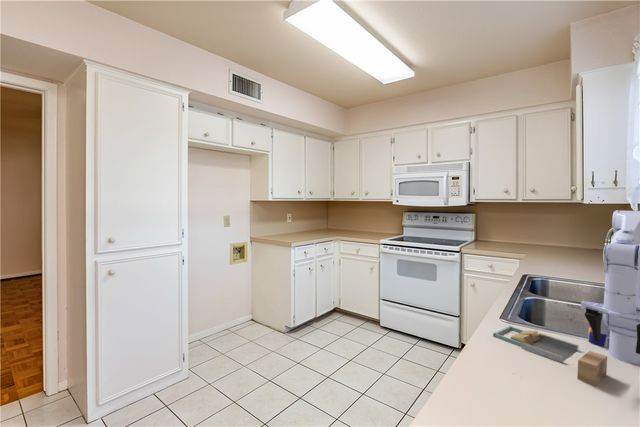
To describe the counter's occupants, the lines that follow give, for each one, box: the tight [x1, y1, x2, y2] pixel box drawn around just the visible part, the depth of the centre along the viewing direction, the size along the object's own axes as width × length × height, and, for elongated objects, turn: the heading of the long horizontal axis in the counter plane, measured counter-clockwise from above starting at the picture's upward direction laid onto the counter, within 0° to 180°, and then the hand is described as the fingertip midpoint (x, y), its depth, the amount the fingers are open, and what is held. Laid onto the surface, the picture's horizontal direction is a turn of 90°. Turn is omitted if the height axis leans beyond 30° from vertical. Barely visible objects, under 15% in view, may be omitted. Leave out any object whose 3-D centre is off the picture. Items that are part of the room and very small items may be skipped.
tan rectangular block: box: [576, 350, 608, 387], centre depth 78 cm, size 8×4×6 cm, turn 124°
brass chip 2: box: [518, 330, 540, 342], centre depth 100 cm, size 4×4×2 cm
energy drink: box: [587, 314, 610, 348], centre depth 97 cm, size 5×5×12 cm
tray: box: [492, 325, 525, 347], centre depth 101 cm, size 11×8×2 cm
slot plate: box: [520, 332, 579, 364], centre depth 93 cm, size 13×10×3 cm
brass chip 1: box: [510, 333, 532, 345], centre depth 97 cm, size 4×4×2 cm
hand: (617, 346), depth 77 cm, fingers open, 7 cm apart
